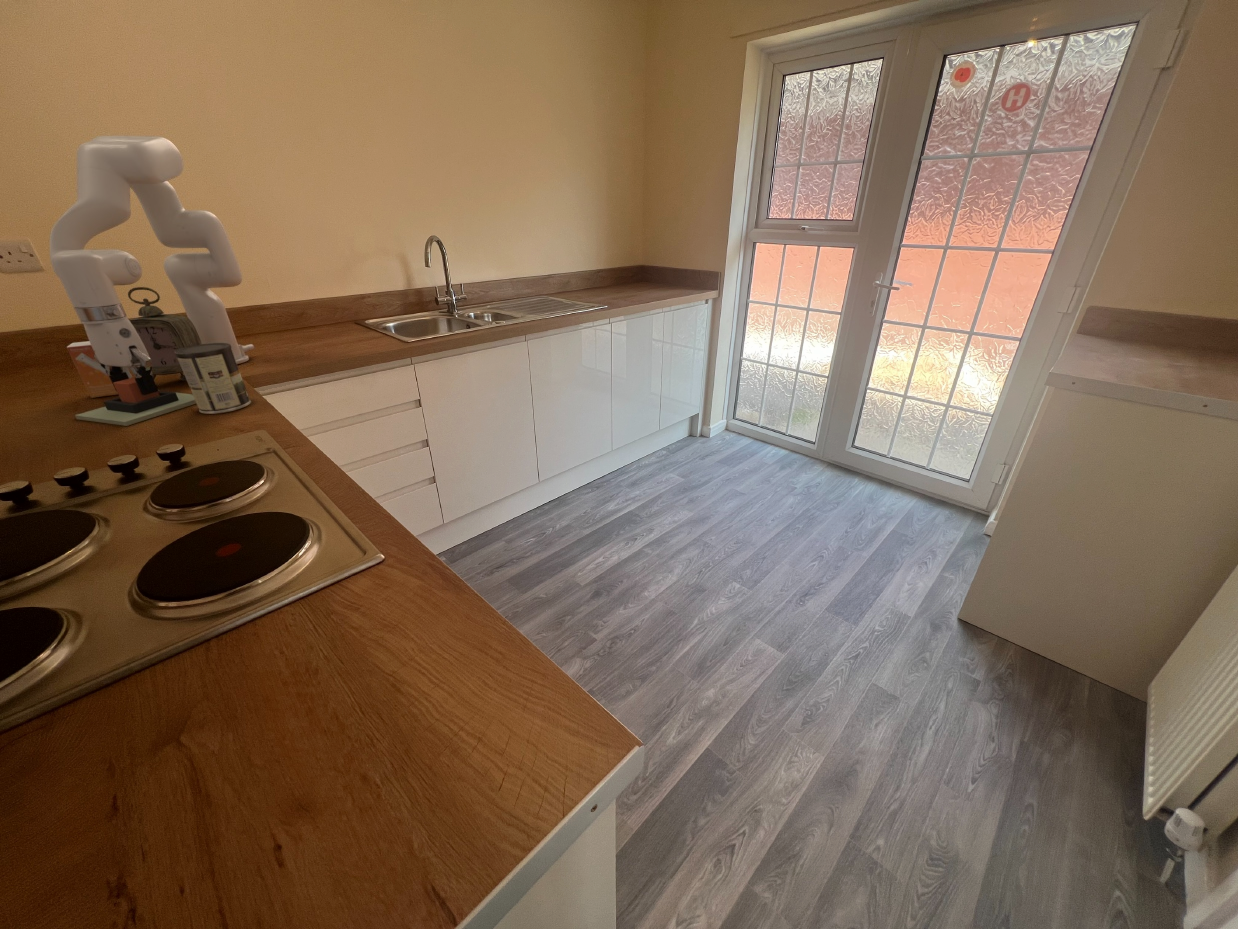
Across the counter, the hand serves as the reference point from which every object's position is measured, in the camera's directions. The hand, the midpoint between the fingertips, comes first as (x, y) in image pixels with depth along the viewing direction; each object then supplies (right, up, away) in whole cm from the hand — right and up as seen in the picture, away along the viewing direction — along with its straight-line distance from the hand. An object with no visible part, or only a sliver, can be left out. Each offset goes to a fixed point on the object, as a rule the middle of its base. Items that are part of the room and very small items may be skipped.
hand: (137, 391), depth 117 cm
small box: (-19, +1, +14) cm, 24 cm away
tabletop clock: (-8, +5, +21) cm, 23 cm away
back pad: (0, -4, +2) cm, 4 cm away
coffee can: (+18, -3, +3) cm, 19 cm away
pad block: (0, -3, +2) cm, 3 cm away
